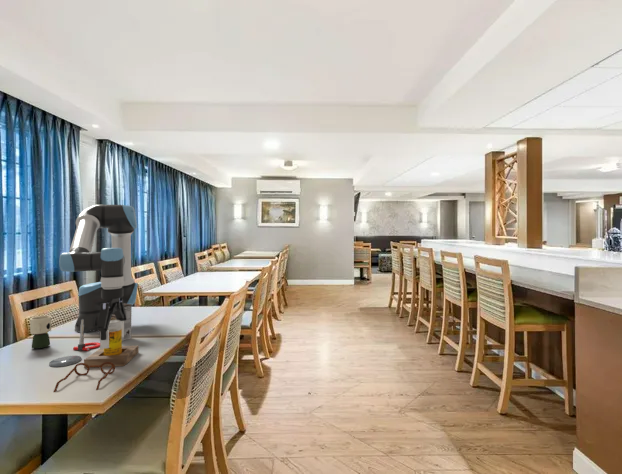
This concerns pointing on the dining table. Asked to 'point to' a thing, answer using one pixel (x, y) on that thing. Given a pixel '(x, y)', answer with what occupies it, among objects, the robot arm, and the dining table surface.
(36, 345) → the character mug
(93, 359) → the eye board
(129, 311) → the coffee box
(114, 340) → the beer can
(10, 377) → the dining table surface
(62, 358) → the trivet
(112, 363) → the glasses
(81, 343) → the tow hook
